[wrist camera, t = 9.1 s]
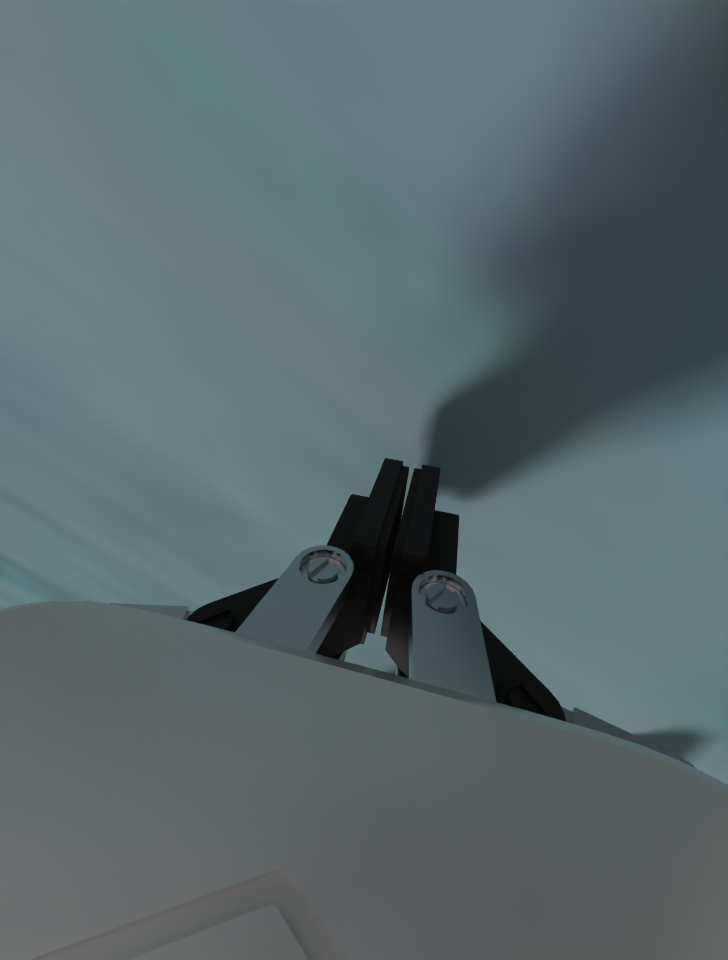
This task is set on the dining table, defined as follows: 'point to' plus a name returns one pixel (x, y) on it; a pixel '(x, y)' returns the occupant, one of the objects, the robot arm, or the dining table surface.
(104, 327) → the dining table surface
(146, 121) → the dining table surface
